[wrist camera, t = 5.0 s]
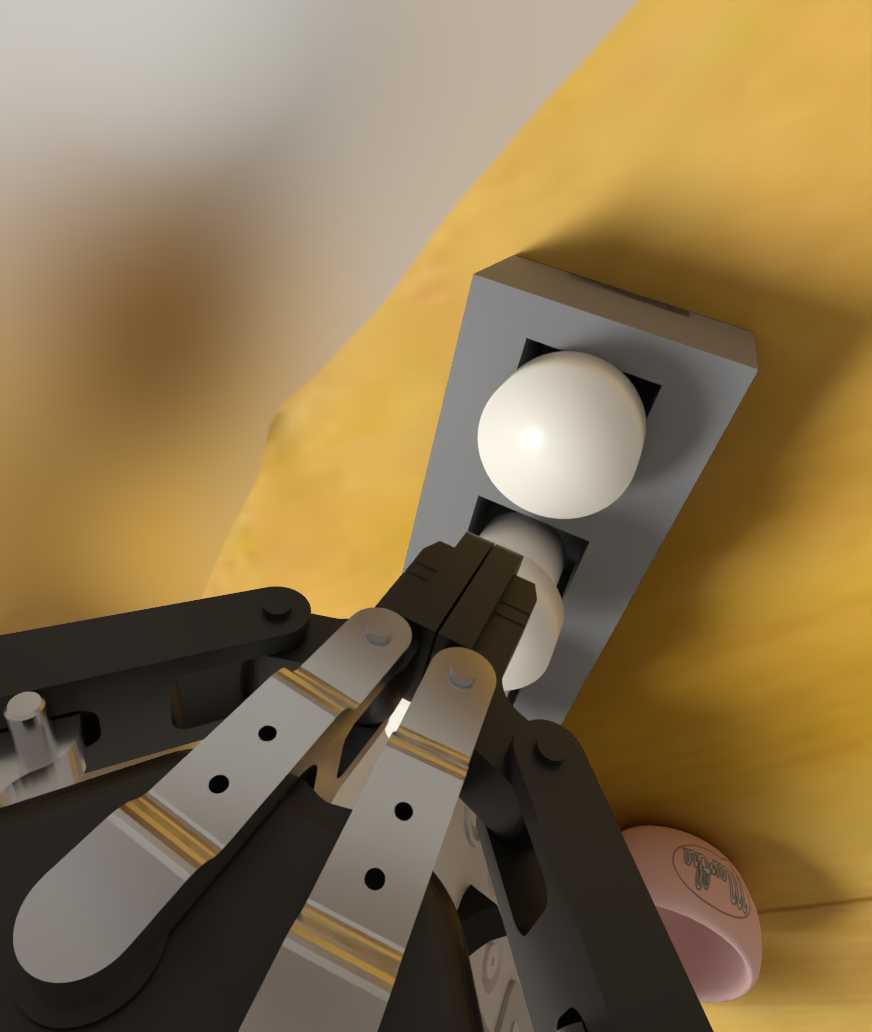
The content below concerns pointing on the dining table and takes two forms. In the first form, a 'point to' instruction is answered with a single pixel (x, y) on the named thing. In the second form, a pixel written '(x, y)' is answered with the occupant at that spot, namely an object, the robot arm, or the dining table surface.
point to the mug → (701, 909)
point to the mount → (662, 465)
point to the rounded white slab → (466, 906)
